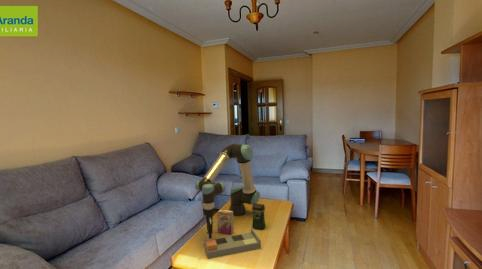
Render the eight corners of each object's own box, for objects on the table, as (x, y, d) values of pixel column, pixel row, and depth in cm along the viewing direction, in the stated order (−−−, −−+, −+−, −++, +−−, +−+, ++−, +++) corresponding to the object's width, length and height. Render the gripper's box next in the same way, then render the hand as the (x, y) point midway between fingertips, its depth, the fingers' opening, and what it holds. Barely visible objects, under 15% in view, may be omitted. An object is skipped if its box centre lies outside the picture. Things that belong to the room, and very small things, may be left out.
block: (206, 247, 157) (206, 241, 157) (215, 245, 159) (215, 239, 158) (207, 252, 151) (207, 246, 151) (217, 250, 153) (217, 244, 153)
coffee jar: (266, 226, 189) (266, 203, 187) (263, 230, 181) (262, 207, 180) (254, 223, 193) (254, 201, 191) (251, 228, 185) (250, 205, 184)
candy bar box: (217, 232, 180) (216, 211, 178) (220, 229, 185) (219, 208, 183) (231, 235, 176) (231, 213, 175) (234, 231, 181) (233, 210, 179)
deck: (203, 244, 165) (203, 236, 164) (252, 235, 175) (252, 228, 174) (207, 258, 149) (207, 250, 148) (260, 248, 159) (260, 240, 158)
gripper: (201, 204, 165) (203, 237, 167) (204, 212, 152) (206, 247, 155) (212, 203, 167) (213, 235, 170) (216, 210, 155) (217, 245, 157)
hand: (210, 241), depth 162 cm, fingers closed
